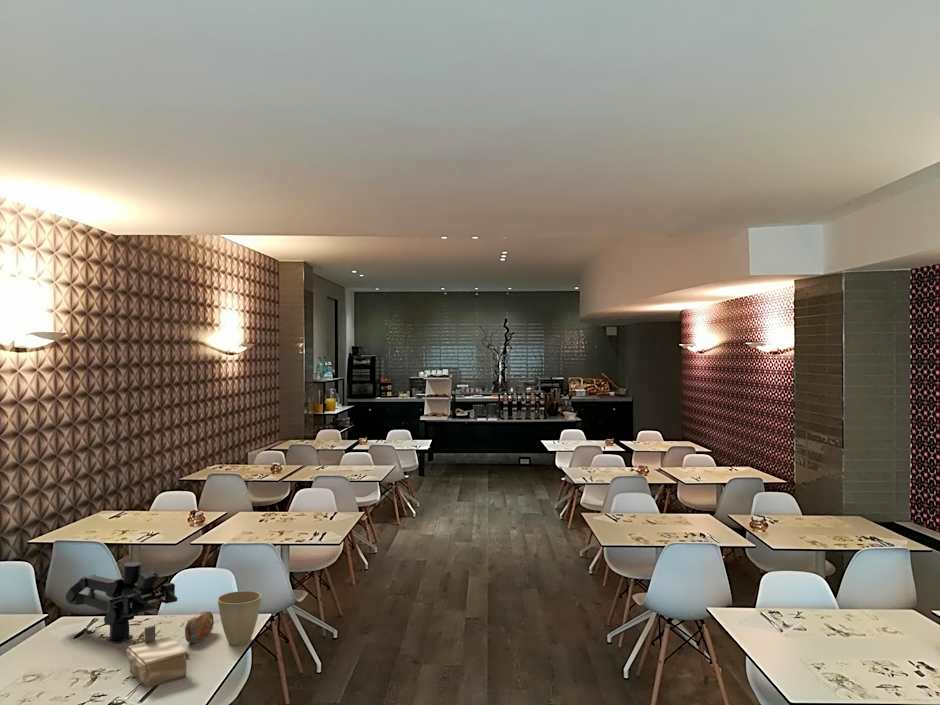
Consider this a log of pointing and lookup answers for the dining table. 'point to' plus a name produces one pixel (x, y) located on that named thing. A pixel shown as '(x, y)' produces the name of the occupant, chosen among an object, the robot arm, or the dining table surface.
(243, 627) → the plant pot
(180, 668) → the carton
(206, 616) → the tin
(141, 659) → the carton lid
